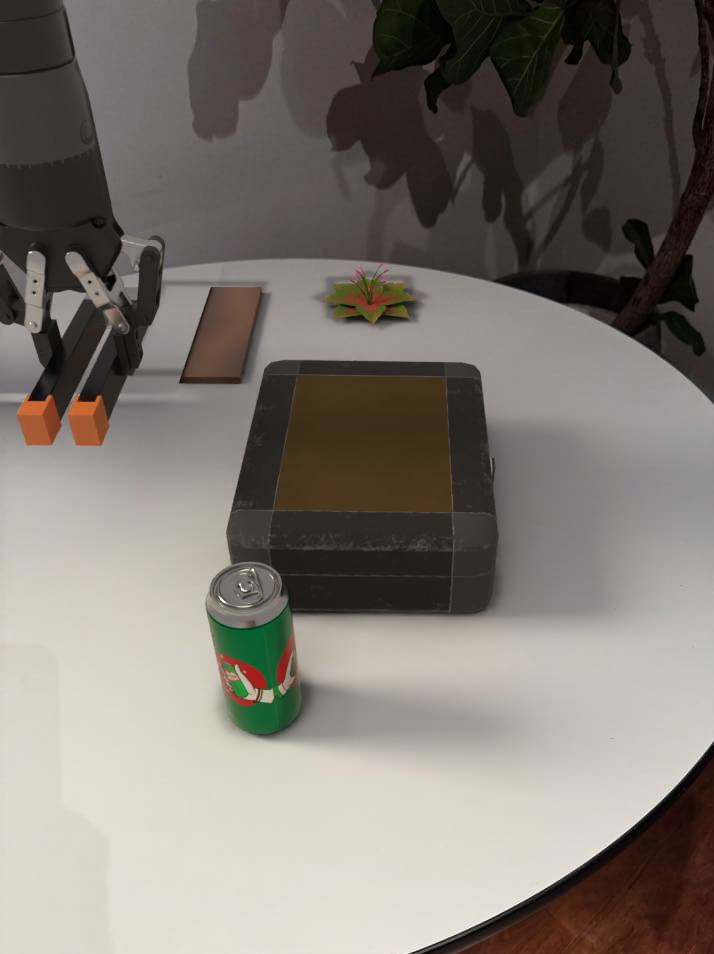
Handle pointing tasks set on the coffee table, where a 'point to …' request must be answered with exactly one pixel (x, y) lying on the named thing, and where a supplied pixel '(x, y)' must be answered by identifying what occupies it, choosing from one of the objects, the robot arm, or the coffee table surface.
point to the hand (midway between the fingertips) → (94, 369)
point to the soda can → (255, 646)
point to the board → (222, 336)
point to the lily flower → (369, 298)
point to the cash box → (370, 486)
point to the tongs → (77, 382)
